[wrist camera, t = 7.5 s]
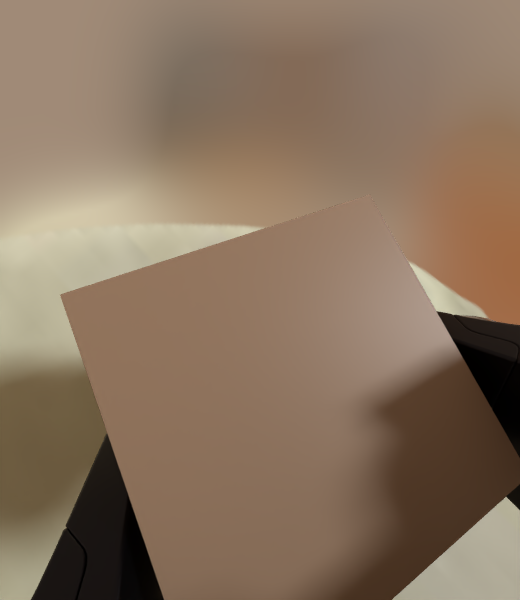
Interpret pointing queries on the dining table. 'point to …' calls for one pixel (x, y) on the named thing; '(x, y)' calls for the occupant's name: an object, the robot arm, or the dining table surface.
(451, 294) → the dining table surface
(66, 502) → the dining table surface
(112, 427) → the lid
